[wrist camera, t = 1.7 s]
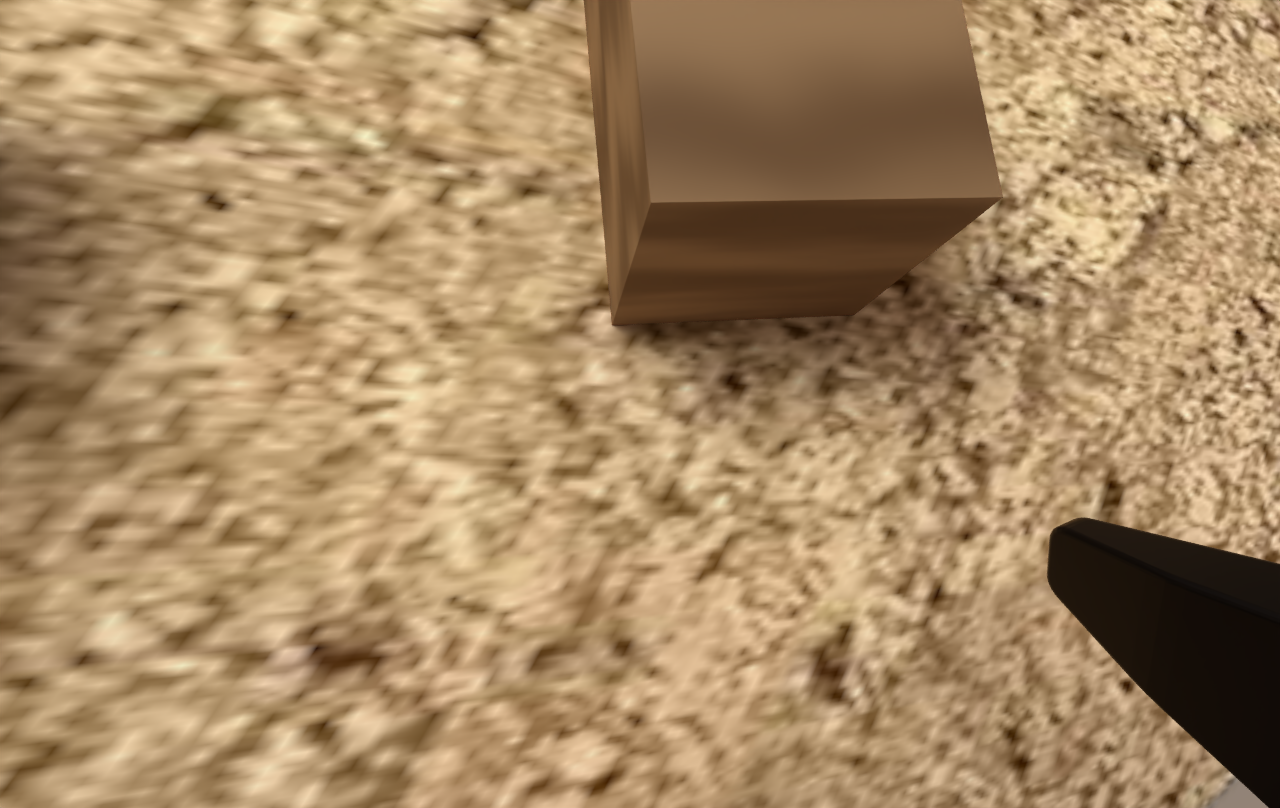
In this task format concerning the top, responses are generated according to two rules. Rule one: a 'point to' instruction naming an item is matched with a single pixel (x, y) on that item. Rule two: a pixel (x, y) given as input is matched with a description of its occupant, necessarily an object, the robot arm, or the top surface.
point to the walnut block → (780, 151)
